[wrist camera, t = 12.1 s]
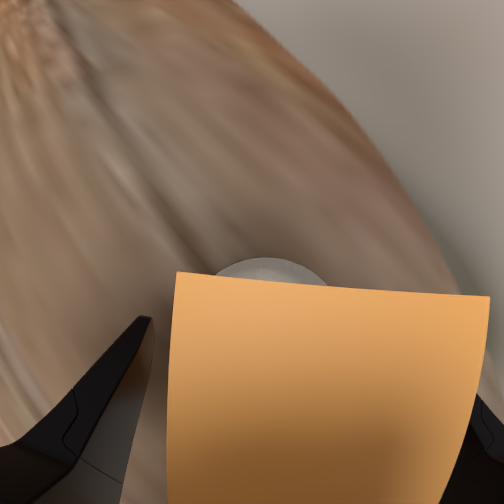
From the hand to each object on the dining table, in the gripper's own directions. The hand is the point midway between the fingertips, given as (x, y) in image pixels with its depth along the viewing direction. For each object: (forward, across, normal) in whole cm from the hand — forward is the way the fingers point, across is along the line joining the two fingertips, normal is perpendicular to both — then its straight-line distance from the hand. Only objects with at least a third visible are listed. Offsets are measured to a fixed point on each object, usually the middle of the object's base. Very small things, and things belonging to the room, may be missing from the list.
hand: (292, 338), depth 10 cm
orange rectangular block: (+4, 0, +6) cm, 7 cm away
